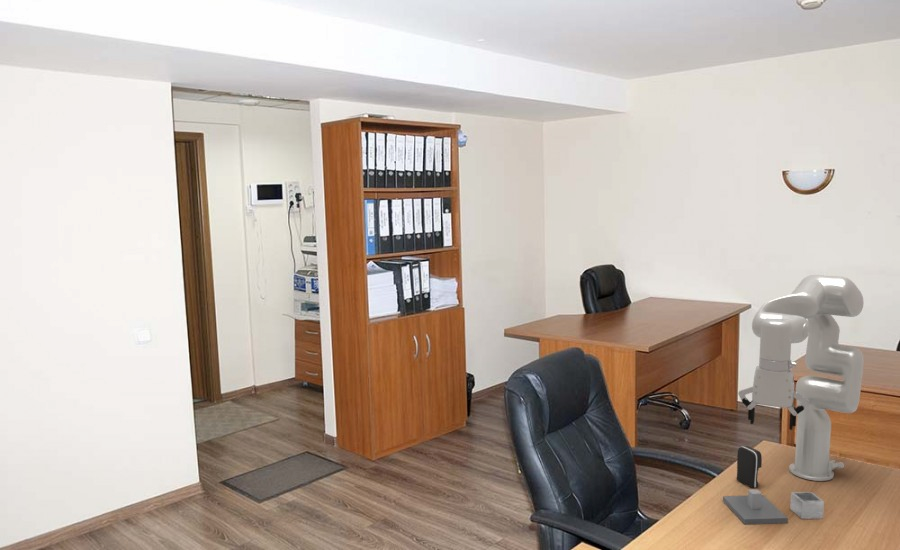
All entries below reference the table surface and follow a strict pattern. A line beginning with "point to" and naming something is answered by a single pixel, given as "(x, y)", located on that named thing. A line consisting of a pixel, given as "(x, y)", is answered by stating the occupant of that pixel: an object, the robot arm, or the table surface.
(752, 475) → the battery charger
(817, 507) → the collar
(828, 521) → the table surface
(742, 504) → the stand
